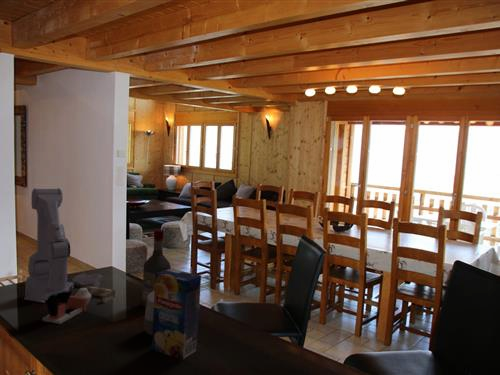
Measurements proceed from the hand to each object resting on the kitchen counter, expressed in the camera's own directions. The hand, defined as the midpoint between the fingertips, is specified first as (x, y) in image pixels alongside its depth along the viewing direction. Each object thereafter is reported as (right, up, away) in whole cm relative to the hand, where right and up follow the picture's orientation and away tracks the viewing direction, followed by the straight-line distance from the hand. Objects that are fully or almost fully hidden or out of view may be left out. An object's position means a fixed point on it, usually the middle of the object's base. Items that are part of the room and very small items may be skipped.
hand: (57, 313), depth 150 cm
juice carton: (+44, -7, -16) cm, 47 cm away
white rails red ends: (+1, -2, +4) cm, 4 cm away
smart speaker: (+37, -5, -5) cm, 37 cm away
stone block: (-4, +1, +38) cm, 38 cm away
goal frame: (+6, 0, +23) cm, 23 cm away
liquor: (+30, -3, +19) cm, 36 cm away
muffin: (+3, -1, +14) cm, 14 cm away
